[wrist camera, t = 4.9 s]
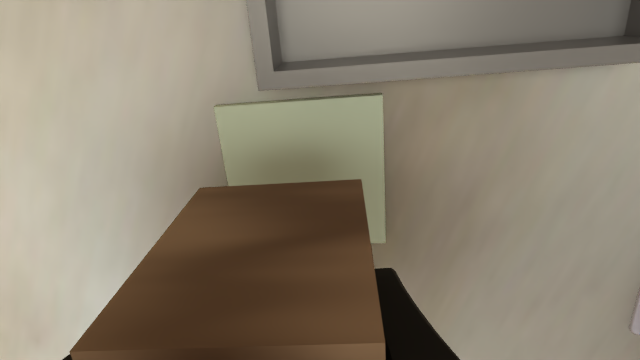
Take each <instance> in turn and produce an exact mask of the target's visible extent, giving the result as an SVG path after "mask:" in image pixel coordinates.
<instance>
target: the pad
mask: <svg viewBox="0 0 640 360" xmlns="http://www.w3.org/2000/svg"><path fill="white" fill-rule="evenodd" d="M214 112H215V117H216V123H217V128H218V134H219V139H220V145H221V150H222V155H223V161H224V166H225V172H226V177H227V183H228V186H242V185H261V184H279V183H298V182H316V181H335V180H353V179H361V180H362V187H363V194H364V200H365V207H366V214H367V221H368V228H369V235H370V242H371V244H377V243H386V227H385V177H384V128H383V94H382V93H375V94H362V95H348V96H334V97H320V98H306V99H293V100H279V101H265V102H251V103H237V104H224V105H216V106H214Z"/></svg>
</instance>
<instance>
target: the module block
mask: <svg viewBox="0 0 640 360" xmlns="http://www.w3.org/2000/svg"><path fill="white" fill-rule="evenodd" d="M70 354H71V357H72V359H73V360H386V355H385V338H384V331H383V324H382V317H381V310H380V303H379V296H378V290H377V283H376V276H375V269H374V262H373V255H372V248H371V242H370V235H369V228H368V221H367V214H366V207H365V200H364V194H363V187H362V180H361V179H353V180H335V181H316V182H298V183H279V184H261V185H242V186H224V187H205V188H199V190H198V191H197V192H196V193H195V195H194V196H193V197H192V198H191V200H190V201H189V202H188V203H187V205H186V206H185V207H184V208H183V210H182V211H181V212H180V213H179V215H178V216H177V217H176V218H175V220H174V221H173V222H172V223H171V225H170V226H169V227H168V229H167V230H166V231H165V232H164V234H163V235H162V236H161V237H160V239H159V240H158V241H157V242H156V244H155V245H154V246H153V247H152V249H151V250H150V251H149V252H148V254H147V255H146V256H145V257H144V259H143V260H142V261H141V262H140V264H139V265H138V266H137V268H136V269H135V270H134V271H133V273H132V274H131V275H130V276H129V278H128V279H127V280H126V281H125V283H124V284H123V285H122V286H121V288H120V289H119V290H118V291H117V293H116V294H115V295H114V296H113V298H112V299H111V300H110V301H109V303H108V304H107V305H106V307H105V308H104V309H103V310H102V312H101V313H100V314H99V315H98V317H97V318H96V319H95V320H94V322H93V323H92V324H91V325H90V327H89V328H88V329H87V330H86V332H85V333H84V334H83V335H82V337H81V338H80V339H79V340H78V342H77V343H76V344H75V345H74V347H73V348H72V349H71V351H70Z"/></svg>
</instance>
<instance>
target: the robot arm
mask: <svg viewBox="0 0 640 360" xmlns="http://www.w3.org/2000/svg"><path fill="white" fill-rule="evenodd" d="M375 276H376V283H377V290H378V296H379V303H380V310H381V317H382V324H383V331H384V338H385V355H386V360H460V359H459V358H458V357H457V356H456V354H455V353H454V352H453V351H452V350H451V349H450V348H449V346H448V345H447V344H446V343H445V342H444V341H443V339H442V338H441V337H440V336H439V335H438V333H437V332H436V331H435V330H434V328H433V327H432V326H431V324H430V323H429V322H428V320H427V319H426V318H425V316H424V315H423V314H422V313H421V311H420V310H419V308H418V307H417V306H416V304H415V303H414V301H413V300H412V298H411V297H410V295H409V294H408V292H407V291H406V289H405V288H404V286H403V284H402V283H401V281H400V279H399V277H398V275H397V273H396V272H395V271H394V270H393V269H392V268H380V269H375ZM629 329H630V331H631V332H632V333H634V334H637V335H640V289H639V292H638V296H637V299H636V303H635V307H634V310H633V314H632V317H631V321H630V325H629ZM63 360H73V359H72V357H71V354H69V355H68V356H67V357H65V358H64V359H63Z"/></svg>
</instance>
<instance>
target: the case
mask: <svg viewBox="0 0 640 360" xmlns="http://www.w3.org/2000/svg"><path fill="white" fill-rule="evenodd" d="M246 4H247V11H248V19H249V26H250V33H251V40H252V47H253V55H254V62H255V69H256V76H257V83H258V91H264V90H278V89H291V88H304V87H318V86H331V85H345V84H358V83H372V82H385V81H399V80H412V79H425V78H439V77H452V76H466V75H479V74H493V73H506V72H520V71H533V70H546V69H560V68H573V67H587V66H600V65H614V64H627V63H640V0H246Z"/></svg>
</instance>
